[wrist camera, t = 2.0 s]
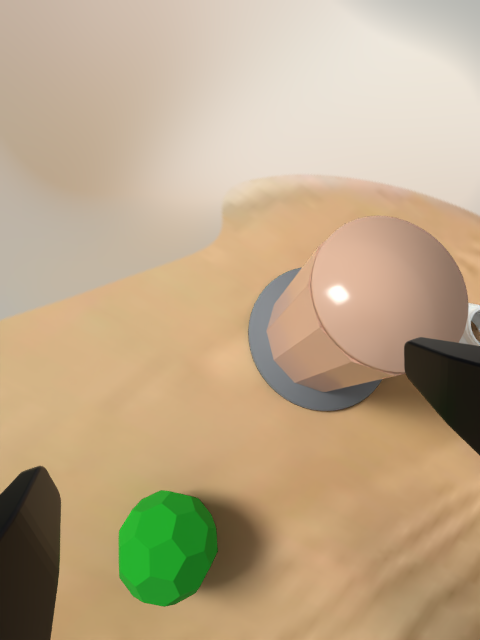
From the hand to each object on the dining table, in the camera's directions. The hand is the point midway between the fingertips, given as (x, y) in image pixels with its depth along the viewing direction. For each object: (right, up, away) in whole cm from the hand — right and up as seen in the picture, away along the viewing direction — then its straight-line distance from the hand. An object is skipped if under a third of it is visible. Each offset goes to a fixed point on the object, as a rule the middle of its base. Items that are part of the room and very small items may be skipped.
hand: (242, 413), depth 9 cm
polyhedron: (-4, -10, +13) cm, 16 cm away
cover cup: (+6, +1, +17) cm, 17 cm away
